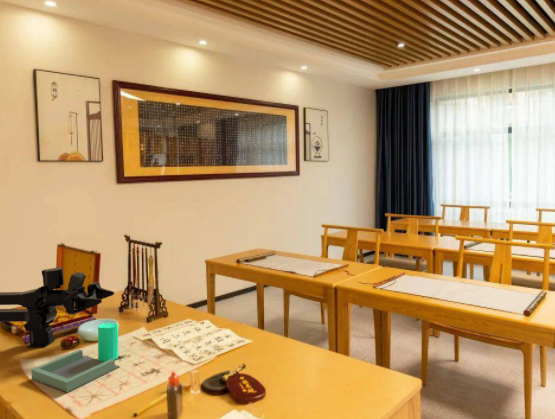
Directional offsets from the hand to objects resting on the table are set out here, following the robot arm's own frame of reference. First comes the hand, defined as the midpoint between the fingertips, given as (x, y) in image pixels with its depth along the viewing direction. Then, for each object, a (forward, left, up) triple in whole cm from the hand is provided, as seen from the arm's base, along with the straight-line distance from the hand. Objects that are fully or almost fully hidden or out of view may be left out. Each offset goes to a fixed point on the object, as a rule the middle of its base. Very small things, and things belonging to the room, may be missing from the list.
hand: (107, 297), depth 148 cm
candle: (+5, -12, -16) cm, 21 cm away
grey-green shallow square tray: (0, -22, -16) cm, 28 cm away
